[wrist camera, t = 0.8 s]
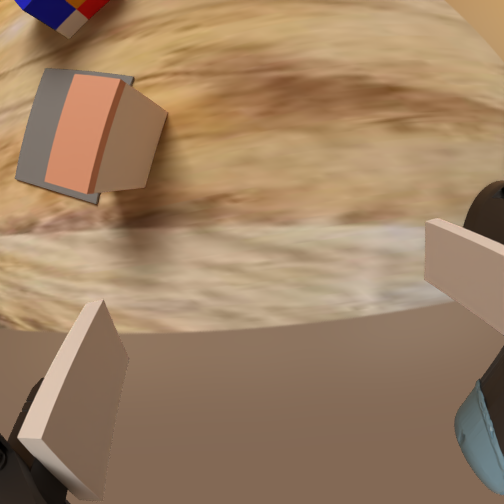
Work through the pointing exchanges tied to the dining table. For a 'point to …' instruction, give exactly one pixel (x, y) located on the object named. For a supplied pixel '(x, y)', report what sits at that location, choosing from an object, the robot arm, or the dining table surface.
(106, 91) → the tall block
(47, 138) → the mat
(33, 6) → the puzzle toy
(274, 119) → the dining table surface
